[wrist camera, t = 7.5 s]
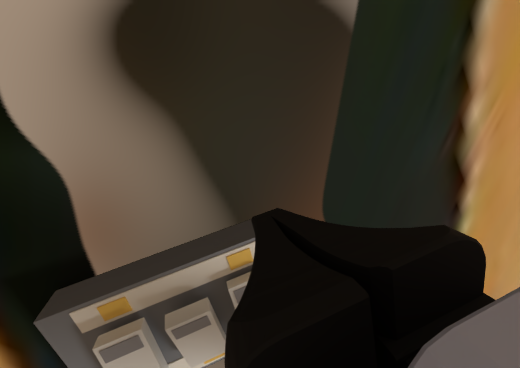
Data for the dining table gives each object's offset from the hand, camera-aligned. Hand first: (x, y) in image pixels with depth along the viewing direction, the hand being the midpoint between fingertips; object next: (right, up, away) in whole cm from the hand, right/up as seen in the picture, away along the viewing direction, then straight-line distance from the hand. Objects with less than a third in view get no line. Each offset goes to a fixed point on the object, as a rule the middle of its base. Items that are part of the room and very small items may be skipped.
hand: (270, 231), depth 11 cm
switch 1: (-9, -10, +6) cm, 15 cm away
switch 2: (-5, -9, +7) cm, 12 cm away
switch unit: (-6, -7, +11) cm, 14 cm away
